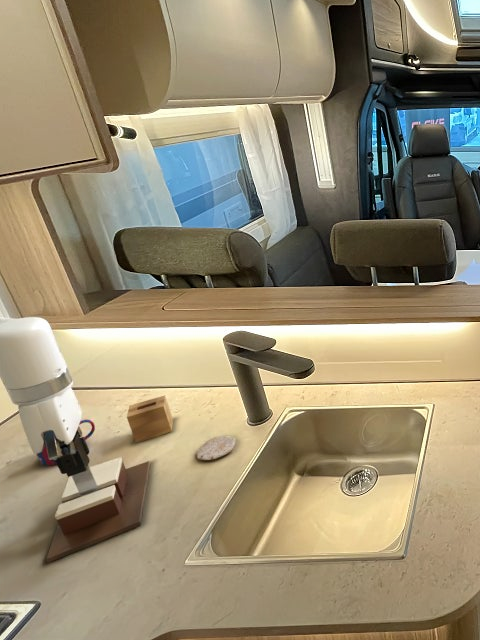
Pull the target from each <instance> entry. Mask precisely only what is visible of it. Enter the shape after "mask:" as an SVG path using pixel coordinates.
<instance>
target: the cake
mask: <svg viewBox="0 0 480 640" xmlns="http://www.w3.org/2000/svg"><path fill="white" fill-rule="evenodd" d="M89 468H90V470H91V472H92V474H93V477H94V479H95V481H96V483H97V486H98V488H99V490H101V489H104V488H107V487H110V486H113V485H115V488H116V490H117V492H118V495H119V497H120V498H121V497H123V494H124V490H125V485H126V480H127V475H128V473H127V471H126V469H127V468H126V466H125V463H124V460H123V458H122V456H119V457H116V458H113V459H111V460H110V459H109V460H107V461H104V462H101V463H98V464H95V465H91V466H89ZM79 497H81V495H80V493H79V491H78V489H77V487H76V485H75V482H74V480H73V478H72V476H70V477H68V479H67V482H66V484H65V487H64V490H63V493H62V496H61V500H62V503H65V502H68V501H71V500H74V499H76V498H79Z"/></svg>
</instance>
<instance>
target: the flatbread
mask: <svg viewBox="0 0 480 640" xmlns="http://www.w3.org/2000/svg"><path fill="white" fill-rule="evenodd" d="M236 443H237V439H236V438H235V437H234V436H231V435H220V436H215V437H213V438H210V439H208V440H206V441H205V442H204V443H203V444H202V445H200V447H199V448H198V449H197V451H196V458H197V459H198V460H200V461H212V460H216V459H218V458H222V457H223V456H225V455H227V454H229V453H230V452H232V451H233V449H234V447H235V446H236Z"/></svg>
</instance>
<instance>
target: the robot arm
mask: <svg viewBox="0 0 480 640" xmlns="http://www.w3.org/2000/svg"><path fill="white" fill-rule="evenodd" d="M0 380H1V382H2V384H3V386H4V388H5V390H6V392H7V395H8V396H9V398H10V400H11V402H12V404H14V405H15V406H18V407H17V409H18V415H19V418H20V422H21V425H22V428H23V431H24V433H25V437H26V439H27V441H28V444H29V446H30V449H31V451H32V453H34V454H36V455H37V454H38V453H40V452H42V451H43V449H44V446H45V444H46V447H47V452H48V458H49V460H52V459H54V460H55V461H56V463H57V464H56V466H57V468H58V470H59V472H60V474H61V475H67V474H66V473H69V472H72V471H75V470H78V469H81V468H83V467H85V462H84V460H83V457H82V455H81V453H80V451H79V449H78V450H76V448H75V446H74V443H73V438H74V436H75V434H77V433H78V434H79V437H80V439H81V441H82V444H83V446H84V448H85V451H86V453H87V455H88V456H89V454H90V448H89V446H88V444H87V442H86V441H87V440H85V439H84V437H85V436H83V431H82V429H81V427H80V425H79V423H80V421H82V417H83V411H82V408H81V406H80V402H79V401H78V398H77V396H76V394H75V392H74V390H73V388H72V386H73V385H74V379H73V377H72V374H71V372H70V370H69V368H68V365H67V363H66V361H65V357H64V356H63V353H62V351H61V348H60V346H59V344H58V341H57V338H56V336H55V334H54V332H53V329H52V327H51V324H50V323H49V322H48V320H46V319H45V318H42V317H38V316H27V317H20V318H14V317H13V318H12V317H6V316H0ZM58 440H60V441H58ZM65 444H67V447H68V448H66V447H65V448H62V449H60V446H62V445H65Z"/></svg>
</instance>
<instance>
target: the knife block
mask: <svg viewBox="0 0 480 640" xmlns="http://www.w3.org/2000/svg"><path fill="white" fill-rule="evenodd" d="M171 412H172V411H171V409H170V406H169V402H168V400H167V396H166V395H162V396H159V397H155V398H151V399H146V400H144V401H140V402H137V403H133V404H130V405H129V406H128V409H127V414H126V419H127V422H128V425H129V427H130V430H131V433H132V435H133V438H134V441H135V443H136V444H138V443H140V442H144V441H147V440H150V439H153V438H156V437H159V436H162V435H165V434H168V433H171V432H173V424H174V419H173V415H172V413H171Z"/></svg>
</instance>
